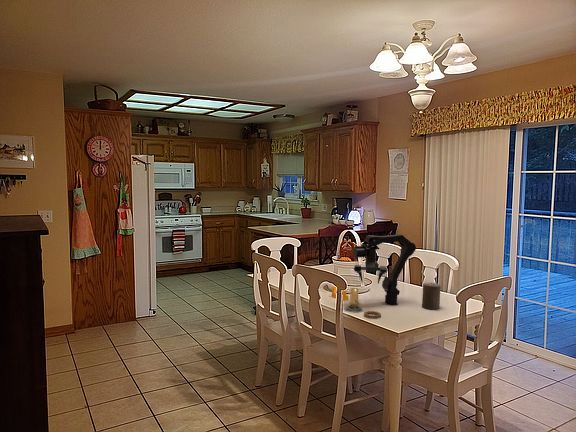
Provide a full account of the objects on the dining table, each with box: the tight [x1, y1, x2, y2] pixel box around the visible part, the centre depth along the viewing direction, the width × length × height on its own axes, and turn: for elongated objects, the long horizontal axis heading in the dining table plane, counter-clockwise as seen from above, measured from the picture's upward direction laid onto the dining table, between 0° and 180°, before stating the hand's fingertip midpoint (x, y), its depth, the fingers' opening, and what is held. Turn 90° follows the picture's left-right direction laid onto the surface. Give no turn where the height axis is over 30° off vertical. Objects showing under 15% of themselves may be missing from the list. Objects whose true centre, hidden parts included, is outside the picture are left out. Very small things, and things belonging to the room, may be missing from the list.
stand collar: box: [363, 310, 382, 320], centre depth 233 cm, size 9×9×1 cm
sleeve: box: [349, 287, 359, 309], centre depth 244 cm, size 4×4×12 cm
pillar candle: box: [421, 282, 441, 311], centre depth 250 cm, size 10×10×15 cm
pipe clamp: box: [331, 286, 350, 302], centre depth 268 cm, size 12×4×6 cm, turn 27°
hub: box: [344, 304, 364, 313], centre depth 244 cm, size 10×10×1 cm
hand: (370, 283), depth 253 cm, fingers open, 9 cm apart
